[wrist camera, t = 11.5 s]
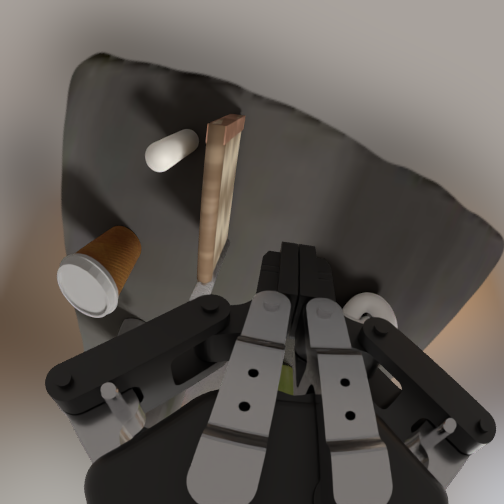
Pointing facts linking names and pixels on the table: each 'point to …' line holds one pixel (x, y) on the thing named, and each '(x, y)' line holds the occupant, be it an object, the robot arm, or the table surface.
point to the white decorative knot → (368, 308)
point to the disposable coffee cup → (99, 271)
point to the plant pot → (286, 380)
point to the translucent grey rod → (207, 287)
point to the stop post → (171, 150)
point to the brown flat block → (217, 190)
